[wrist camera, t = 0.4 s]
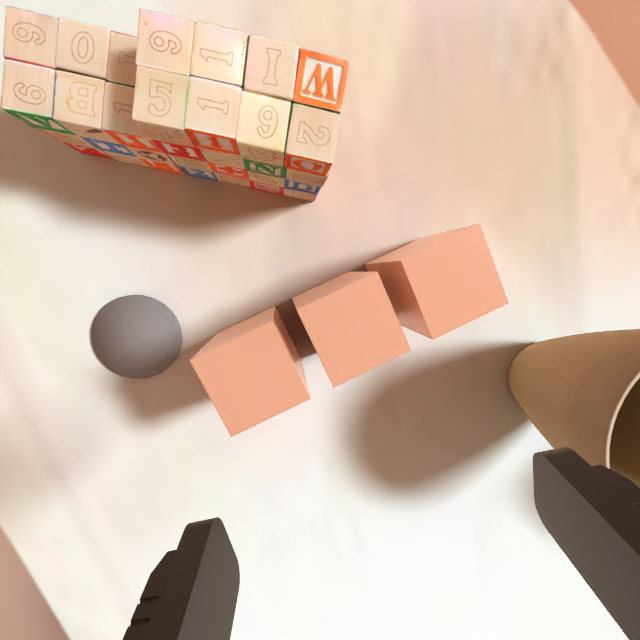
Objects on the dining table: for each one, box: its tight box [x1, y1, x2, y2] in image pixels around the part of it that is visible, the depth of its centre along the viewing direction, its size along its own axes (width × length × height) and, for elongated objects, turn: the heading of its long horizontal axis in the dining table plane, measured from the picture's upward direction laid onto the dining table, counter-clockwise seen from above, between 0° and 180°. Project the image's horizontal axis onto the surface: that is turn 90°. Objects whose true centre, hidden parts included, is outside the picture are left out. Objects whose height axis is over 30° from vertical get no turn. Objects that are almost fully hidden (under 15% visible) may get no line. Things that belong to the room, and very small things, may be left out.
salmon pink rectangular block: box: [190, 306, 311, 437], centre depth 30 cm, size 6×6×11 cm
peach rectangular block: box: [364, 224, 508, 339], centre depth 31 cm, size 6×6×11 cm
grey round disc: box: [92, 295, 182, 378], centre depth 34 cm, size 8×8×1 cm
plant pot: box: [508, 329, 640, 488], centre depth 31 cm, size 15×15×16 cm
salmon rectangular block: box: [292, 272, 411, 388], centre depth 30 cm, size 6×6×11 cm
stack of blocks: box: [1, 6, 349, 201], centre depth 26 cm, size 21×6×12 cm, turn 80°
